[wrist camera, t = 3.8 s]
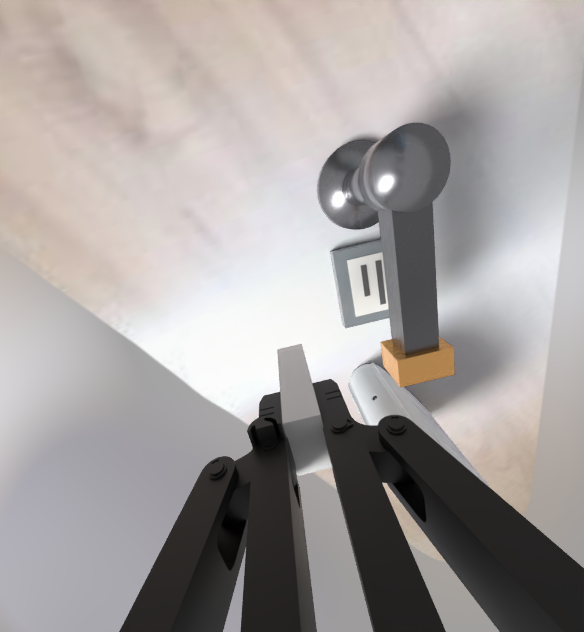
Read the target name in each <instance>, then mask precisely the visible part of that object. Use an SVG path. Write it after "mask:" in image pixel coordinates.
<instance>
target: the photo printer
mask: <svg viewBox="0 0 584 632" xmlns="http://www.w3.org/2000/svg"><path fill="white" fill-rule="evenodd" d="M348 389H349V391H350V394H351V396H352V398H353V400H354V403H355V405H356V407H357V409H358V412H359V414H360V416H361V418H362V420H363V423H364V425H378V423H379V421H380V420H381V419H382V418H384V417H385V416H389V415H401V416H405V417H407V418H408V419H410V420H411V421H413V422H414V423H415V424H416V425H417V426H418V427H420V428H421V429H422V430H423V431H424V432H425V433H427V434H428V435H429V436H430V437H431V438H432V439H434V440H435V441H436V442H437V443H438V444H439V445H441V446H442V447H443V448H444V449H445V450H446V451H448V452H449V453H450V454H451V455H452V456H453V457H455V458H456V459H457V460H458V461H459V462H460V463H462V464H463V465H464V466H465V467H466V468H467V469H469V470H470V471H471V472H472V473H473V474H474V475H475V476H477V477H478V478H479V479H480V480H481V481H482V482H484V483H485V484H486V485H487V486H488V484H487V483H486V481H485V480H484V479H483V478H482V476H481V475H480V474H479V473H478V471H477V470H476V469H475V468H474V467H473V466H472V464H471V463H470V462H469V461H468V460H467V458H466V457H465V456H464V455H463V454H462V452H461V451H460V450H459V449H458V447H457V446H456V445H455V444H454V443H453V441H452V440H451V439H450V438H449V436H448V435H447V434H446V433H445V432H444V430H443V429H442V428H441V427H440V425H439V424H438V423H437V422H436V420H435V419H434V418H433V417H432V415H431V414H430V413H429V412H428V410H427V409H426V408H425V407H424V406H423V405H422V404H421V403H420V402H419V401H418V400H417V399H416V398H415V397H414V396H413V395H412V394H411V393H410V392H409V391H408V390H407V389H405V388H404V387H399V385H398V384H397V383H396V382H395V380H394V379H393V378H392V376H391V375H390V374H388V373H387V372H386V371H385V370H384V369H382V368H381V367H380V366H378V365H376V364H375V363H371V364H364V365H362V366H360V367H358V368H357V369H356V370H355V371H354V372H353V373H352V375H351V377H350V383H348ZM488 487H489V486H488ZM489 488H490V487H489Z"/></svg>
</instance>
